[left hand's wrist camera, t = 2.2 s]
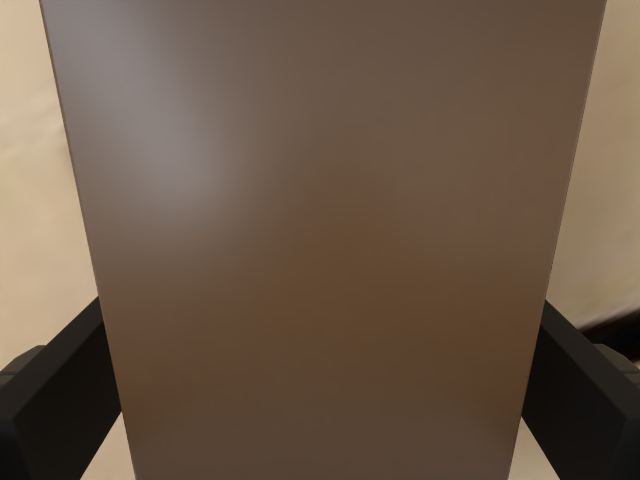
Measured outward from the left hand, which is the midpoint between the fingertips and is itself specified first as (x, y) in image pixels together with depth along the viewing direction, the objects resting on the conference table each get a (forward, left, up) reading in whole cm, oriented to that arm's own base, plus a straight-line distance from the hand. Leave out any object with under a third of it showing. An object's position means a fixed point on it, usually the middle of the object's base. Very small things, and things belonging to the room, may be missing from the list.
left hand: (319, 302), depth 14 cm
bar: (+9, +2, -2) cm, 10 cm away
